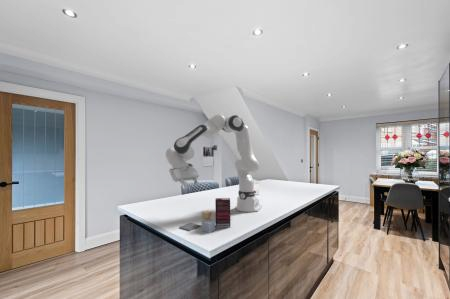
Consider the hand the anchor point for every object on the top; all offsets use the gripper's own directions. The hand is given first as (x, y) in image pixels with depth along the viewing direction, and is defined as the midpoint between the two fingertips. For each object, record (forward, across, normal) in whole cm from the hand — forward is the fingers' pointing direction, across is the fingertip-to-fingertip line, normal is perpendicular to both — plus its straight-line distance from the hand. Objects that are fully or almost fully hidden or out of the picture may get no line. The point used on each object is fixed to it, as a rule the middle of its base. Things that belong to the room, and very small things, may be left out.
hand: (191, 184), depth 127 cm
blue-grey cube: (+29, -6, +3) cm, 30 cm away
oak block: (+25, 0, +7) cm, 26 cm away
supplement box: (+31, +4, +1) cm, 31 cm away
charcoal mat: (+21, -8, +12) cm, 25 cm away
